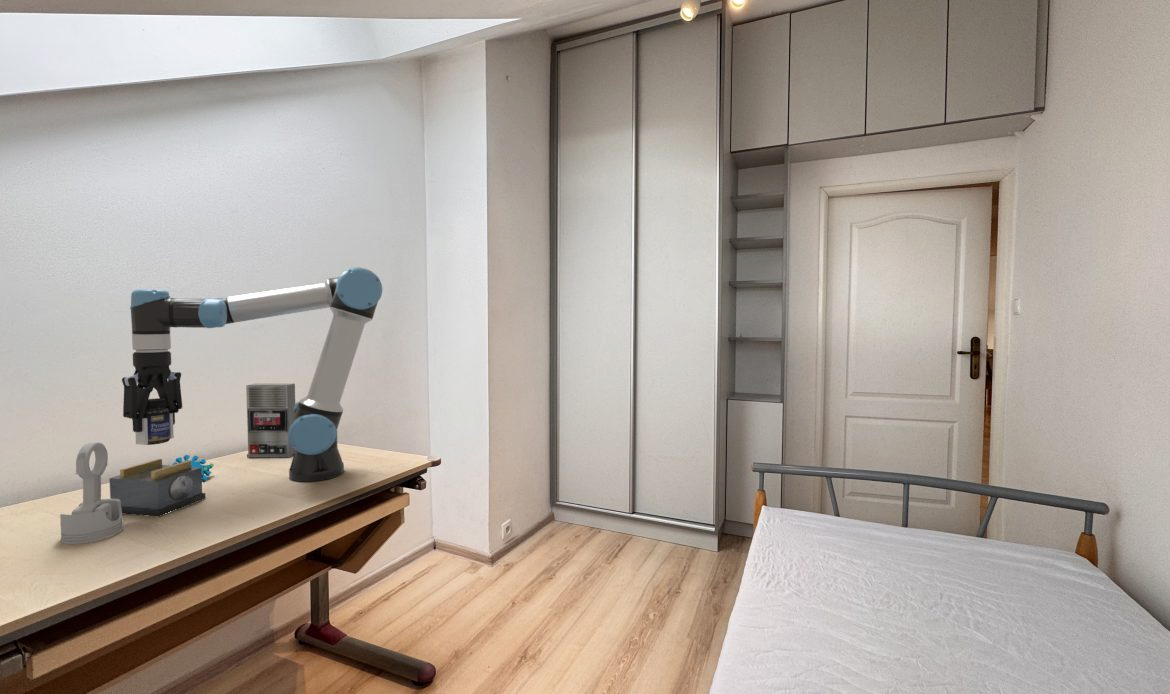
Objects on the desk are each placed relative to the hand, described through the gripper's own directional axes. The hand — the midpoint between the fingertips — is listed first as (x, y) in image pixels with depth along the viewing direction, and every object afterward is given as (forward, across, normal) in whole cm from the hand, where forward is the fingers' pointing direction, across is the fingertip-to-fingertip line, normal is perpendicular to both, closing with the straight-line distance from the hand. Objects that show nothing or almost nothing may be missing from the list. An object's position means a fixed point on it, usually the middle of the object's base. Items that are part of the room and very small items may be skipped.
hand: (155, 440), depth 134 cm
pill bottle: (+1, 0, 0) cm, 1 cm away
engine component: (+17, +17, +3) cm, 25 cm away
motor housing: (+17, 0, 0) cm, 17 cm away
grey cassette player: (+17, -47, -6) cm, 50 cm away
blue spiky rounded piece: (+17, -18, -8) cm, 26 cm away
